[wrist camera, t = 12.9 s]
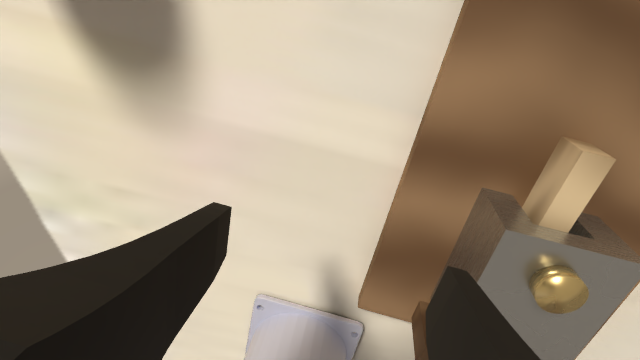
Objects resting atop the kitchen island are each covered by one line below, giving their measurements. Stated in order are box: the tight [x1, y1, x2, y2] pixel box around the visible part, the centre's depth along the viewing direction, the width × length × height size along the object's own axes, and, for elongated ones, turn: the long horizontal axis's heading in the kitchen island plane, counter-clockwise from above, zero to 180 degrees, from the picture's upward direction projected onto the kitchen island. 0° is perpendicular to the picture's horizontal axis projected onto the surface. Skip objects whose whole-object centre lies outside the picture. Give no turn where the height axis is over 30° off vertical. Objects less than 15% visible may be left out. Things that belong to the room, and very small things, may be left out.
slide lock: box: [430, 187, 640, 360], centre depth 18 cm, size 8×6×5 cm
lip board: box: [358, 0, 640, 360], centre depth 17 cm, size 22×14×4 cm, turn 168°
